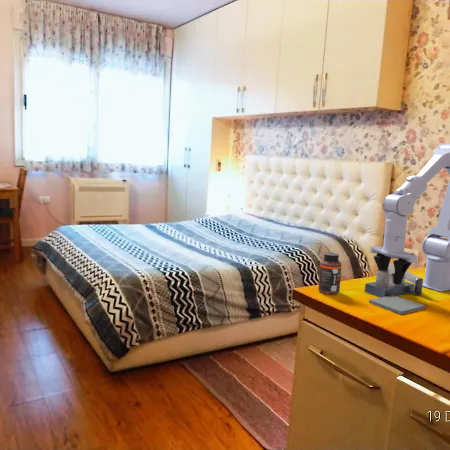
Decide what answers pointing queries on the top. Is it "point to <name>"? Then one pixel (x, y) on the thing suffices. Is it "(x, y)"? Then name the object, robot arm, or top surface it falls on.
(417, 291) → the steel lever
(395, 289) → the grey piece
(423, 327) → the top surface
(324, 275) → the supplement bottle
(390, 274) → the grey rectangular block
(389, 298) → the rubber mat
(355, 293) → the top surface
